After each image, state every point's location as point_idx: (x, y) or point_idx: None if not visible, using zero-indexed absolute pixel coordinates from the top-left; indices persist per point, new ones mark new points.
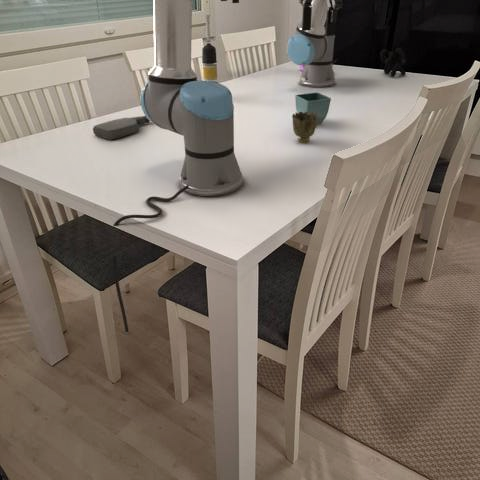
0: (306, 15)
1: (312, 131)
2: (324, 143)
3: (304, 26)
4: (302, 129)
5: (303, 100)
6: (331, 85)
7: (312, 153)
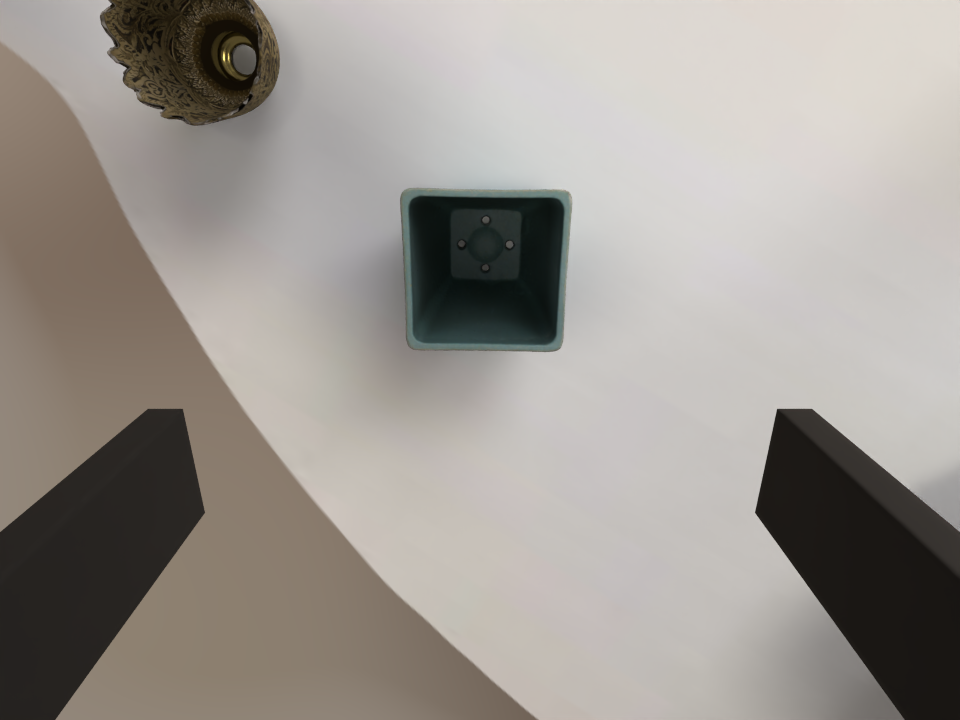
0: (899, 588)
1: (165, 72)
2: (199, 148)
3: (800, 455)
4: (153, 2)
5: (455, 189)
6: None
7: (83, 15)
